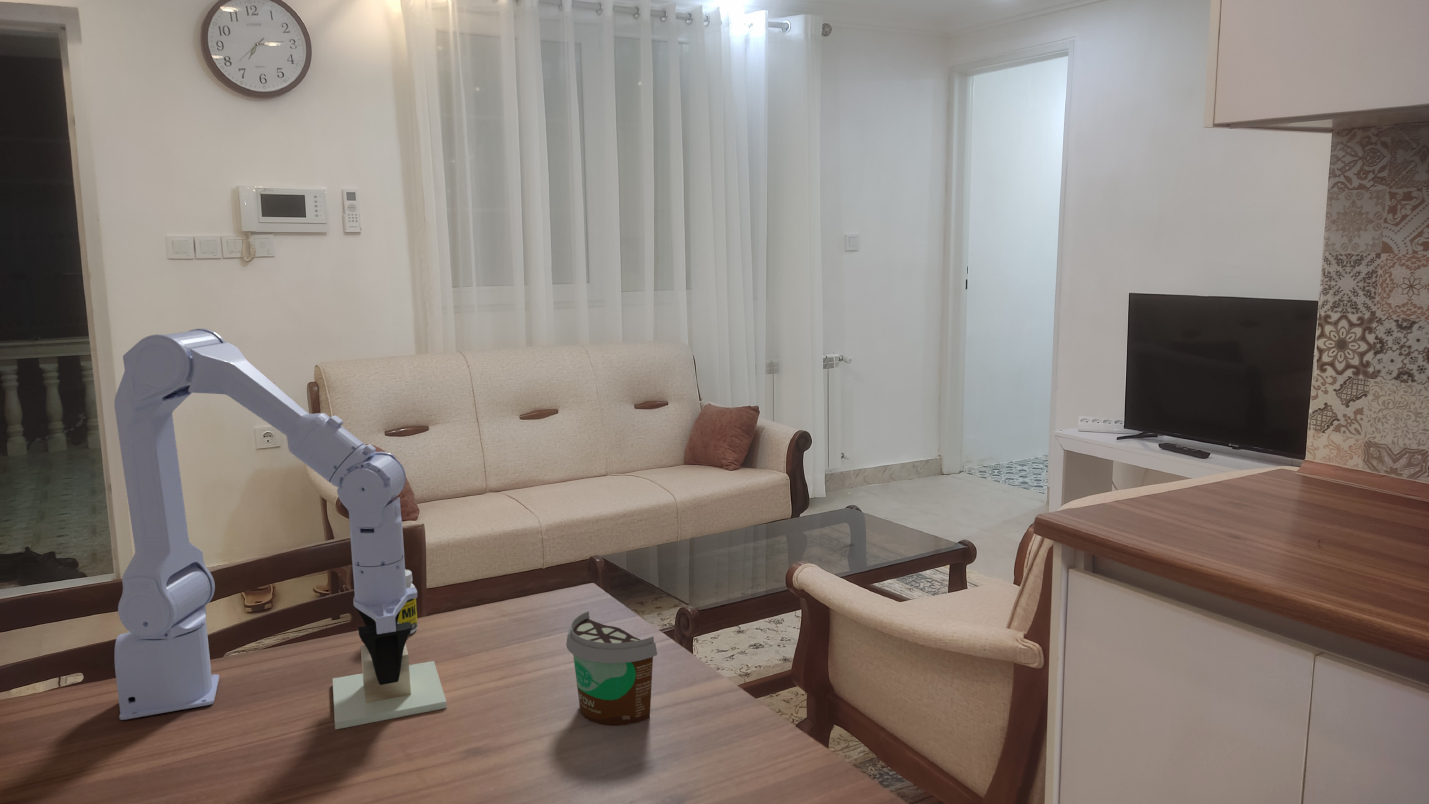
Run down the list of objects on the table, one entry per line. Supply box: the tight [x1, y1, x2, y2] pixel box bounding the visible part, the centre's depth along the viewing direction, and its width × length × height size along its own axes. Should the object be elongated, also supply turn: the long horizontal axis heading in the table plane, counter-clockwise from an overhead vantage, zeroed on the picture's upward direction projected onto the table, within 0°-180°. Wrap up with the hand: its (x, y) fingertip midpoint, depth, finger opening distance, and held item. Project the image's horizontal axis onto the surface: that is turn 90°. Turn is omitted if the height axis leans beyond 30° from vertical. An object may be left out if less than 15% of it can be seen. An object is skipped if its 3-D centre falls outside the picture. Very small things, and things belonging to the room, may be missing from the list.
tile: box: [332, 660, 448, 730], centre depth 111 cm, size 12×12×1 cm
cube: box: [360, 642, 411, 703], centre depth 110 cm, size 5×5×5 cm
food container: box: [565, 610, 658, 727], centre depth 105 cm, size 12×6×10 cm, turn 47°
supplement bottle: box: [397, 569, 419, 635], centre depth 129 cm, size 5×5×8 cm
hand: (386, 669), depth 110 cm, fingers open, 7 cm apart
